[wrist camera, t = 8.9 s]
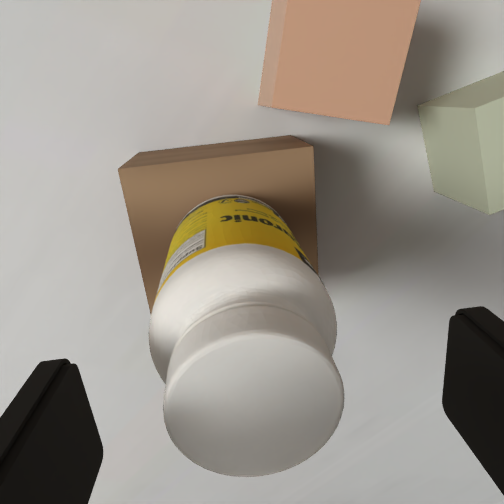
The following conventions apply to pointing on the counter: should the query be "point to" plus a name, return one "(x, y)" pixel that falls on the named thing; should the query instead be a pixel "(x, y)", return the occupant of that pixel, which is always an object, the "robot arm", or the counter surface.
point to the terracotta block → (337, 56)
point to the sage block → (467, 143)
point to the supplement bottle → (244, 342)
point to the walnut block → (216, 192)
